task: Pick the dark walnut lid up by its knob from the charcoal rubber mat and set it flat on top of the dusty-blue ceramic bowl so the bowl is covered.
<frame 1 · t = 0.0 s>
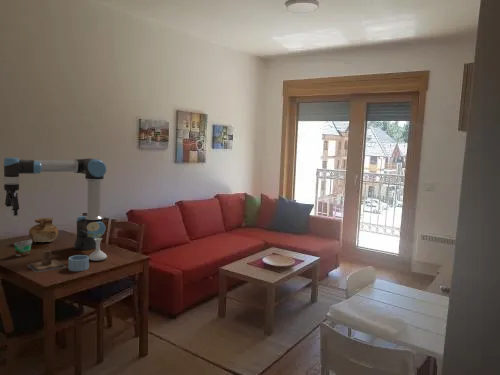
hand: (12, 219, 224), 28 cm above the table, tool pointing down, fingers open, 13 cm apart
walnut lid: (46, 258, 226), on the rubber mat
food container: (25, 255, 245), on the table
ceramic bowl: (78, 268, 225), on the table
flower in vase: (96, 259, 245), on the table
rubber mat: (46, 266, 226), on the table
clay pot: (44, 242, 280), on the table
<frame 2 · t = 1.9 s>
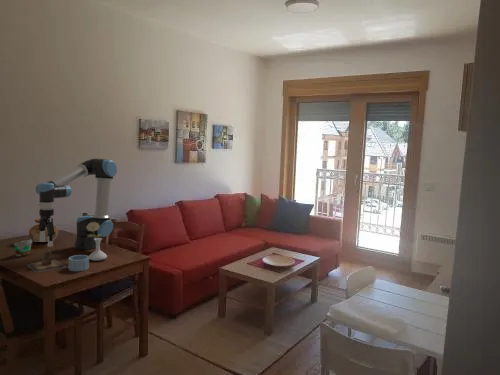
hand: (46, 244, 224), 14 cm above the table, tool pointing down, fingers open, 13 cm apart
nothing on the table moved.
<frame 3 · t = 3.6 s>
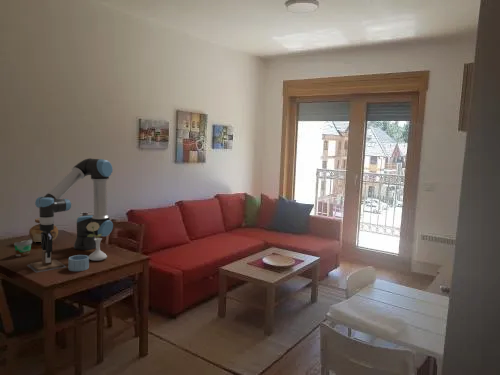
hand: (46, 261, 226), 3 cm above the table, tool pointing down, fingers closed on walnut lid, 4 cm apart
walnut lid: (46, 258, 226), on the rubber mat, touching gripper
everything else where it was.
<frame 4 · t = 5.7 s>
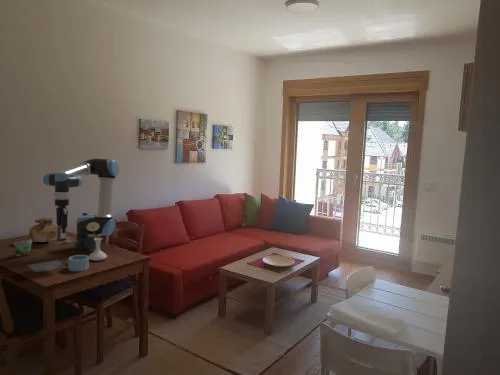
hand: (61, 237, 224), 19 cm above the table, tool pointing down, fingers closed on walnut lid, 4 cm apart
walnut lid: (61, 234, 223), point 21 cm above the table, touching gripper
everything else where it was.
when the fingers open (11 cm above the table, at t = 7.7 s): walnut lid drops 1 cm, resting on ceramic bowl.
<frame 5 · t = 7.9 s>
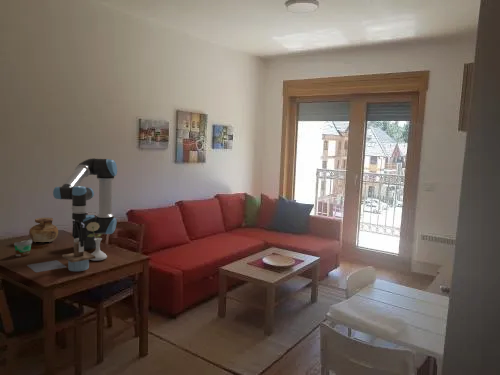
hand: (78, 250, 224), 11 cm above the table, tool pointing down, fingers open, 7 cm apart
walnut lid: (78, 250, 224), on the ceramic bowl, point 12 cm above the table
everything else where it was.
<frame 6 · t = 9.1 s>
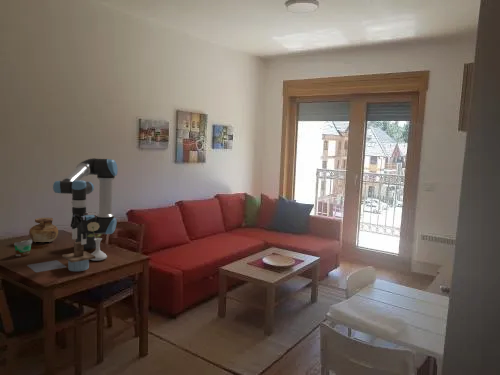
hand: (79, 241, 224), 17 cm above the table, tool pointing down, fingers open, 13 cm apart
nothing on the table moved.
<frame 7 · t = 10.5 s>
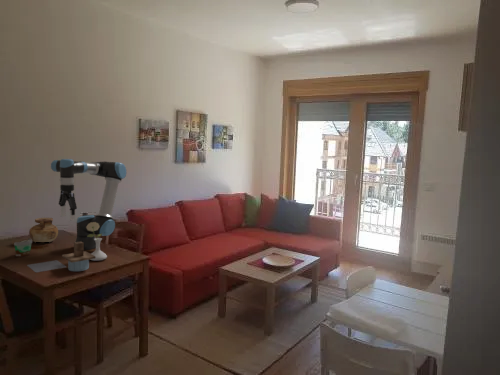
hand: (67, 218, 232), 28 cm above the table, tool pointing down, fingers open, 13 cm apart
nothing on the table moved.
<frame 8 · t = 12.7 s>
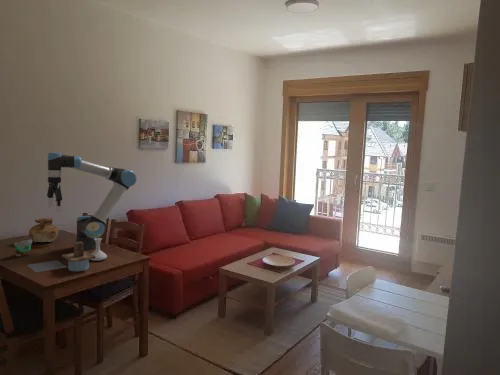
hand: (54, 209, 242), 32 cm above the table, tool pointing down, fingers open, 13 cm apart
nothing on the table moved.
at the end: walnut lid 0.0 cm off-centre on the ceramic bowl, point 11.6 cm above the ceramic bowl's base; walnut lid tilted 0°; the gripper is holding nothing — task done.
